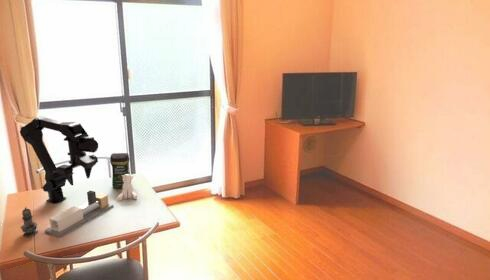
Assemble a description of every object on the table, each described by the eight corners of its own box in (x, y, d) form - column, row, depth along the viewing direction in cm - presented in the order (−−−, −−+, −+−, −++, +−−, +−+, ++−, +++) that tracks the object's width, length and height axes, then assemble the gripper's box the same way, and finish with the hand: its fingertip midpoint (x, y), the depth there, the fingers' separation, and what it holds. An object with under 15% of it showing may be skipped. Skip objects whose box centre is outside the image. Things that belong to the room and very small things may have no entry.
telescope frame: (44, 232, 144) (42, 219, 142) (99, 203, 169) (97, 191, 168) (60, 237, 140) (58, 223, 139) (113, 206, 166) (112, 195, 164)
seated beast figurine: (117, 201, 171) (114, 178, 168) (119, 193, 180) (116, 172, 176) (137, 199, 174) (135, 177, 170) (138, 192, 182) (136, 170, 178)
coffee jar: (111, 189, 185) (107, 156, 179) (114, 183, 192) (111, 151, 187) (130, 188, 186) (127, 155, 181) (132, 182, 193) (129, 150, 188)
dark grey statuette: (26, 230, 145) (21, 204, 142) (41, 229, 146) (36, 203, 142) (19, 237, 140) (13, 210, 136) (34, 237, 140) (29, 210, 137)
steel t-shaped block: (70, 218, 151) (67, 201, 149) (100, 202, 166) (98, 186, 164) (75, 219, 150) (72, 202, 148) (105, 203, 165) (103, 187, 162)
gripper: (71, 158, 148) (76, 192, 153) (104, 146, 165) (108, 177, 169) (53, 155, 153) (58, 187, 157) (87, 143, 169) (91, 173, 174)
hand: (80, 181), depth 164 cm, fingers open, 9 cm apart
